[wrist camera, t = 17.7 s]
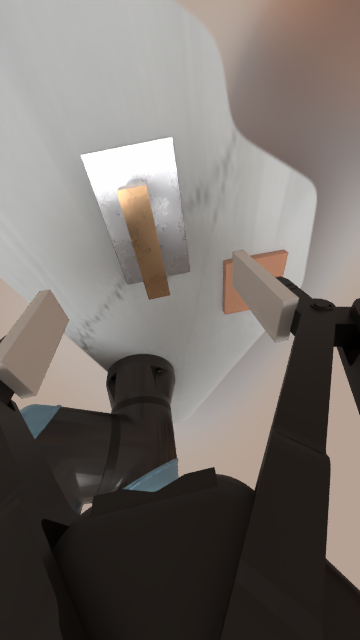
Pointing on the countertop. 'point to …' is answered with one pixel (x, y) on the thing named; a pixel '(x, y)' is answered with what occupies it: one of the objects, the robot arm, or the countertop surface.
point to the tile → (269, 261)
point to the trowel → (142, 211)
